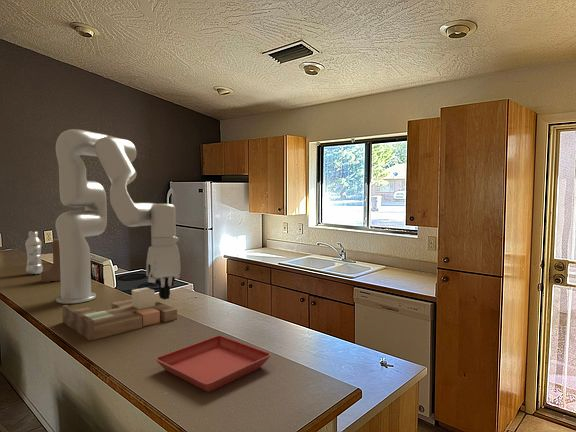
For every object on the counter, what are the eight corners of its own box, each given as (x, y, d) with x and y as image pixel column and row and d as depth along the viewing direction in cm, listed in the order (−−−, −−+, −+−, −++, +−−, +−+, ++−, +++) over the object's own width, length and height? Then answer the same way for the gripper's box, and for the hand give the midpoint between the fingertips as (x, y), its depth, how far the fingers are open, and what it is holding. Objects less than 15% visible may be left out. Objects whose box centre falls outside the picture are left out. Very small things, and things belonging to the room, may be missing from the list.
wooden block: (41, 282, 169) (40, 240, 168) (42, 280, 173) (41, 239, 172) (65, 280, 173) (64, 239, 172) (66, 278, 177) (65, 238, 176)
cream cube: (131, 306, 124) (131, 290, 124) (147, 302, 127) (146, 287, 127) (139, 309, 120) (139, 292, 120) (154, 305, 124) (154, 290, 124)
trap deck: (62, 322, 117) (62, 305, 117) (144, 305, 135) (144, 290, 135) (89, 340, 103) (89, 321, 102) (177, 318, 121) (176, 302, 120)
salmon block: (136, 322, 118) (136, 310, 118) (152, 319, 121) (152, 307, 121) (143, 326, 114) (143, 314, 114) (159, 322, 118) (159, 311, 117)
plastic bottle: (37, 275, 184) (36, 232, 183) (22, 275, 184) (21, 232, 183) (46, 272, 190) (44, 231, 189) (32, 272, 190) (30, 231, 189)
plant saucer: (206, 400, 74) (206, 383, 74) (153, 372, 85) (153, 357, 85) (272, 368, 88) (272, 353, 87) (219, 347, 99) (219, 334, 99)
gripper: (178, 239, 136) (178, 292, 137) (135, 243, 125) (137, 300, 126) (190, 241, 131) (191, 296, 132) (147, 245, 120) (148, 305, 121)
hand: (164, 298), depth 129 cm, fingers closed
